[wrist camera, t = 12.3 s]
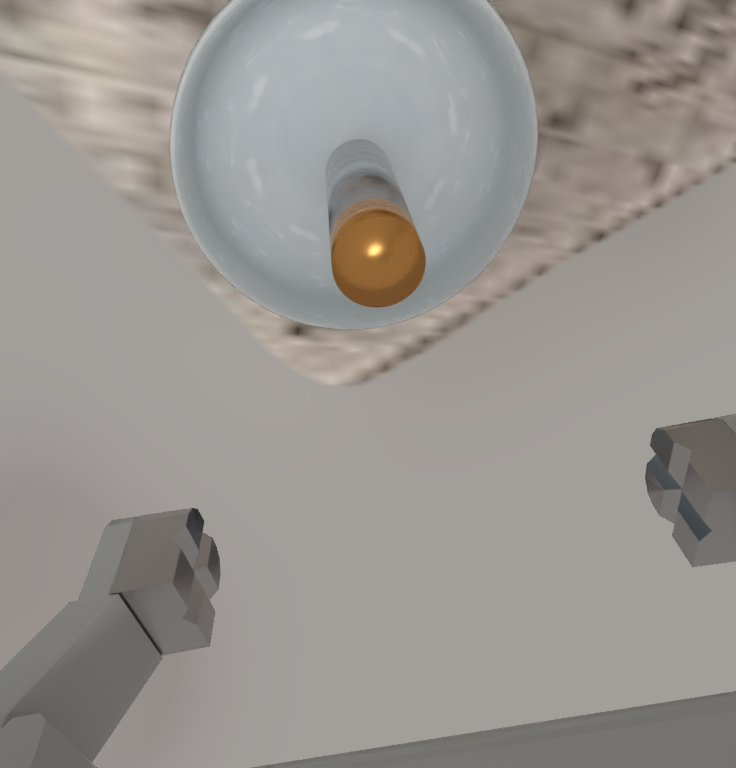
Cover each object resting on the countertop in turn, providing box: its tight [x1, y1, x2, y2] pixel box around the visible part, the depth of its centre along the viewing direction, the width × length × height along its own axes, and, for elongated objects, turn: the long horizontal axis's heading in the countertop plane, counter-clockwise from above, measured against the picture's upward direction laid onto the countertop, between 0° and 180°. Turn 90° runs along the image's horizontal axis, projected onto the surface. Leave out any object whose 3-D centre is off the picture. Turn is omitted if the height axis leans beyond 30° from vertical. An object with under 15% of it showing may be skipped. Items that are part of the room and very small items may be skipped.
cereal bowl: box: [170, 0, 538, 330], centre depth 30 cm, size 17×17×7 cm
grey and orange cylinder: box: [326, 139, 426, 308], centre depth 23 cm, size 3×3×10 cm
